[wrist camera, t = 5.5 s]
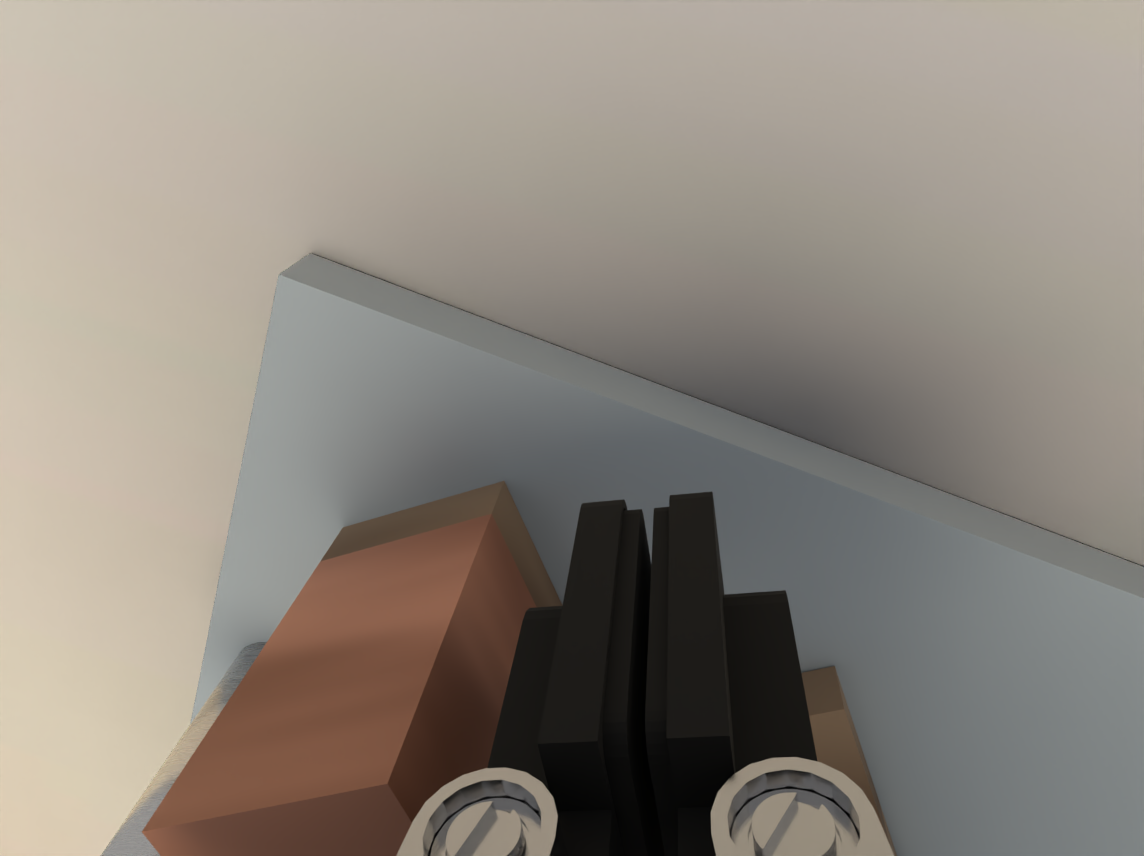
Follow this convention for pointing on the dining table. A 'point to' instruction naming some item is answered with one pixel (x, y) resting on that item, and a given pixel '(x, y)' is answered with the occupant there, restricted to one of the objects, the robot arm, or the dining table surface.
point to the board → (746, 543)
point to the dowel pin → (178, 761)
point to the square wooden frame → (391, 691)
